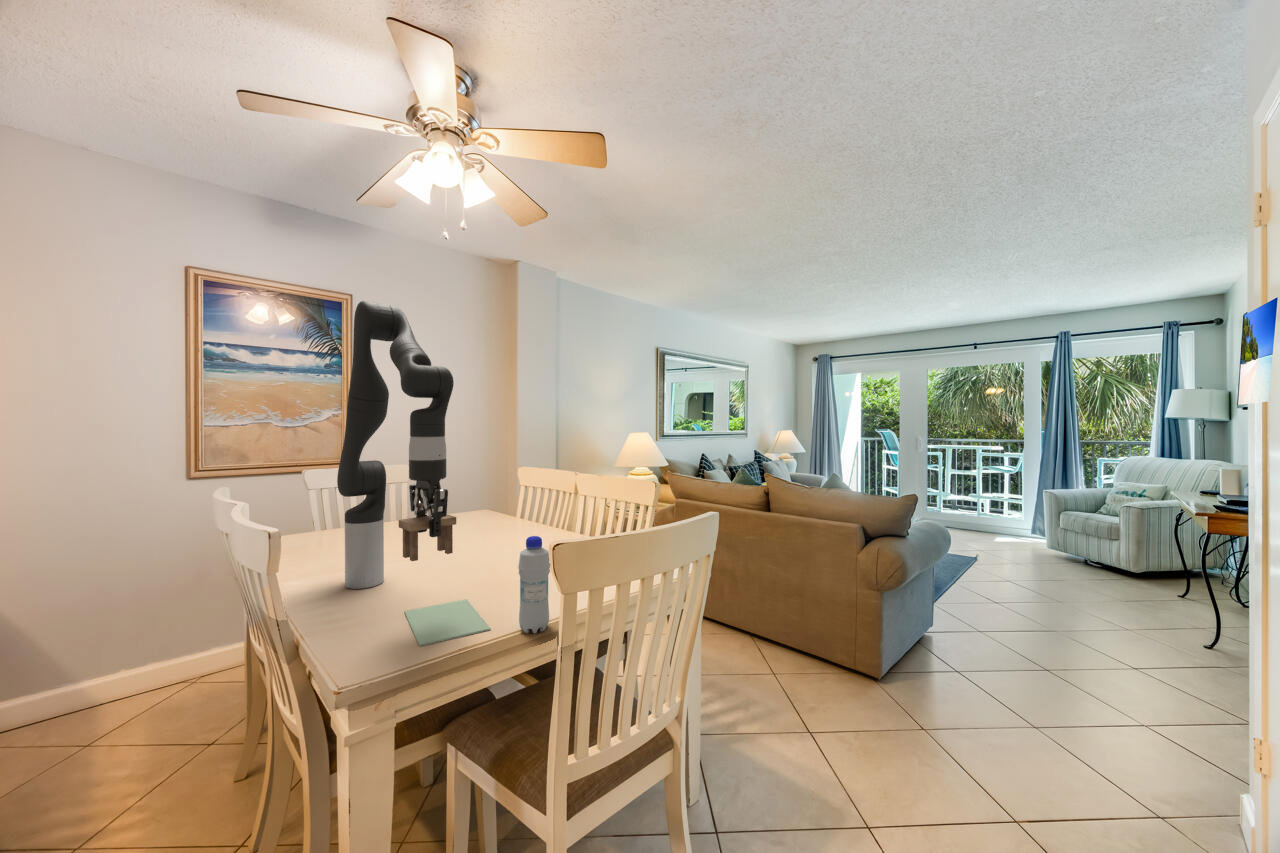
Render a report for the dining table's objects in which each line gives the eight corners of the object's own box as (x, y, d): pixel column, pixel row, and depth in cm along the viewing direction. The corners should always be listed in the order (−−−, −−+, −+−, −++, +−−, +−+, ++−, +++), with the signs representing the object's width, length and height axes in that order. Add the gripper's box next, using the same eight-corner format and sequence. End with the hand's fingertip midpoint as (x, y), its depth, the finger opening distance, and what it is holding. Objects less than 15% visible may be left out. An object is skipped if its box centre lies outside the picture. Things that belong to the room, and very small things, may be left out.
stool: (443, 548, 114) (443, 513, 114) (456, 553, 110) (456, 517, 110) (398, 556, 107) (398, 519, 107) (410, 562, 103) (410, 524, 102)
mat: (404, 612, 115) (404, 611, 115) (466, 600, 122) (466, 599, 122) (419, 646, 98) (419, 644, 98) (490, 630, 106) (490, 628, 106)
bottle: (518, 637, 102) (518, 541, 102) (517, 624, 109) (517, 533, 108) (551, 634, 104) (551, 539, 104) (548, 621, 110) (548, 531, 110)
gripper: (460, 458, 106) (460, 536, 106) (430, 454, 116) (430, 526, 116) (425, 460, 100) (425, 543, 101) (396, 456, 110) (397, 532, 110)
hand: (428, 533), depth 108 cm, fingers closed on stool, 6 cm apart
